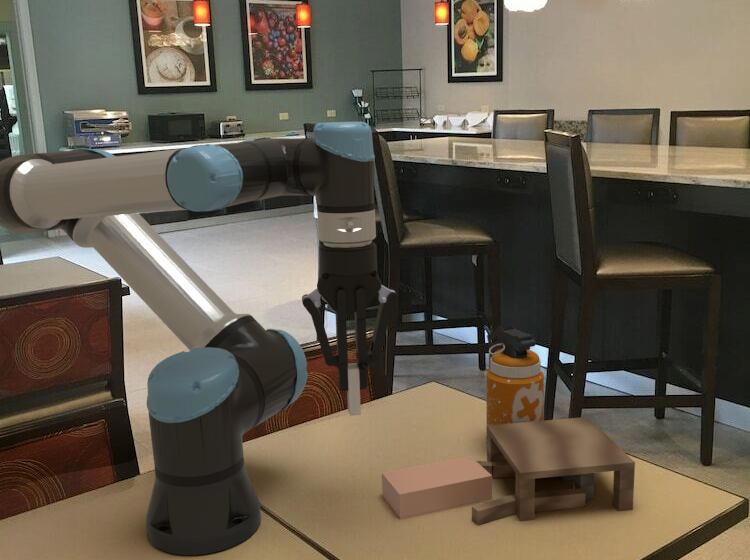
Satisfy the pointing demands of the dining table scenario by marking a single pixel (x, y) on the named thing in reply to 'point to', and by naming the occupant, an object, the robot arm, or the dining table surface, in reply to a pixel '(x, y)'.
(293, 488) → the dining table surface
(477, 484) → the pink foam brick
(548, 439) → the shelf
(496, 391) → the canister
